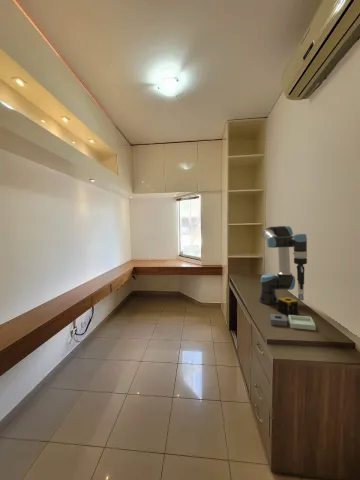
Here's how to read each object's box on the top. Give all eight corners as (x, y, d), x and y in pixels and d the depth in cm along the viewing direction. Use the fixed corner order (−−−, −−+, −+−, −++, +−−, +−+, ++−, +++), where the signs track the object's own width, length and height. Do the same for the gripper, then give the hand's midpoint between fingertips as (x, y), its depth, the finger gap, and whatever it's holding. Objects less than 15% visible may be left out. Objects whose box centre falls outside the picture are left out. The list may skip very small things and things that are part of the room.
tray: (288, 319, 160) (288, 314, 159) (311, 320, 155) (310, 316, 155) (290, 327, 146) (290, 323, 146) (315, 330, 142) (315, 325, 142)
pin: (298, 298, 151) (297, 281, 151) (303, 299, 150) (302, 281, 150) (298, 300, 149) (298, 282, 148) (303, 300, 148) (303, 282, 147)
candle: (277, 311, 174) (277, 298, 174) (287, 308, 178) (287, 296, 177) (288, 316, 165) (287, 302, 164) (298, 313, 168) (298, 300, 168)
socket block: (270, 318, 162) (270, 313, 161) (285, 319, 158) (285, 315, 158) (270, 324, 152) (270, 319, 152) (287, 326, 149) (287, 321, 149)
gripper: (292, 255, 156) (292, 289, 158) (295, 259, 141) (296, 296, 143) (304, 255, 154) (305, 289, 155) (309, 259, 139) (309, 297, 140)
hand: (300, 292), depth 149 cm, fingers closed on pin, 3 cm apart
